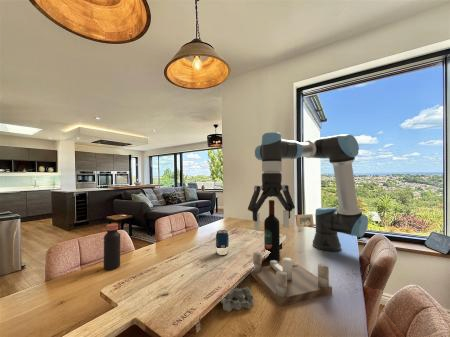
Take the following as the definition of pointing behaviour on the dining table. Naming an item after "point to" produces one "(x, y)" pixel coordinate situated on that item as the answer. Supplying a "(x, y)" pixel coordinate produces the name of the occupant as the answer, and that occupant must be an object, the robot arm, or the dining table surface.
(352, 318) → the dining table surface
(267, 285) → the stool seat
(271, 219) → the wine bottle
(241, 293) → the egg carton
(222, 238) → the soda can
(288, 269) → the hinged leg
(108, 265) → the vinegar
